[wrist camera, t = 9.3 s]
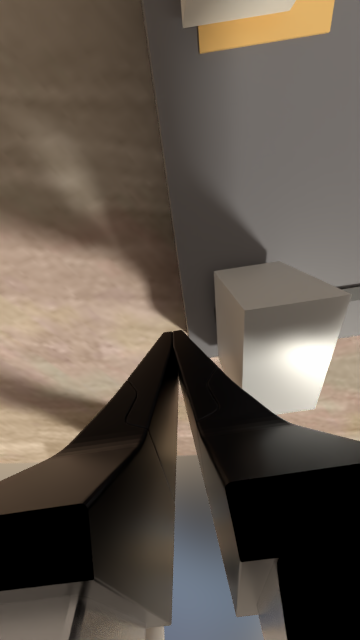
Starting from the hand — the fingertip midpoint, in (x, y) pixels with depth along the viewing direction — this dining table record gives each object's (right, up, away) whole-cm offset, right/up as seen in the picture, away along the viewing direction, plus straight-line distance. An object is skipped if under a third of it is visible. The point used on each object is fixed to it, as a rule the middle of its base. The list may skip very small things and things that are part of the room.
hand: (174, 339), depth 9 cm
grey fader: (+4, +1, +1) cm, 4 cm away
